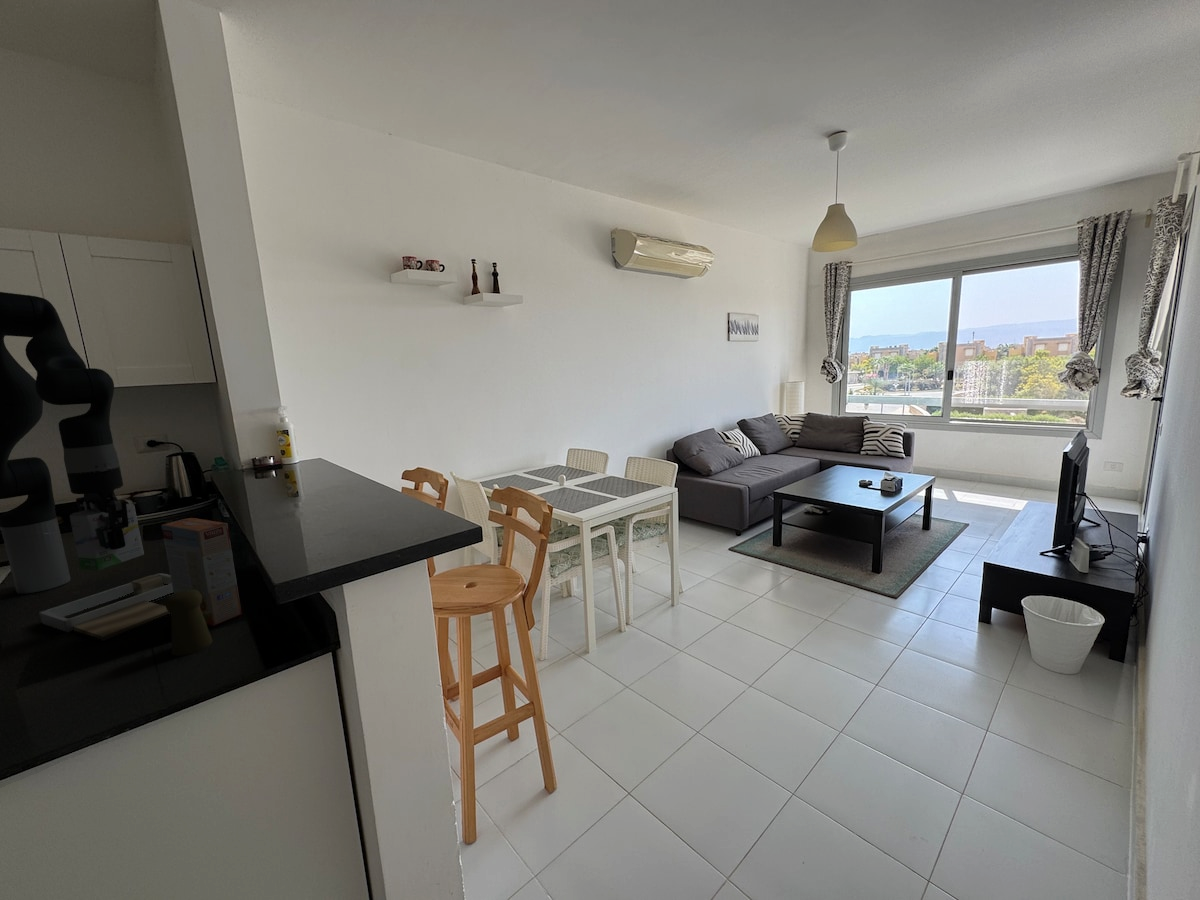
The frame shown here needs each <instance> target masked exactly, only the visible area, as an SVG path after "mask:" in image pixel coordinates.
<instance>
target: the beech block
mask: <svg viewBox="0 0 1200 900" xmlns="http://www.w3.org/2000/svg"><path fill="white" fill-rule="evenodd" d="M155 575H156V574H150V575H148V576H144V577H142V578H138V579H135V580H132V581H131V582H132V586H133V591H134V593H133V596H136V595H139V594H142V593H145V592H148V591H150V590H153V589H156V588H159V587H162V586H164V584H163V583H162V577H159V576H155Z"/></svg>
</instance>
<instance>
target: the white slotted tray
mask: <svg viewBox="0 0 1200 900" xmlns="http://www.w3.org/2000/svg"><path fill="white" fill-rule="evenodd" d="M154 575H155V576H159V577H162V583H164V584H168V585H164V584H163V586H162V587H159V588H156V589H153V590H150V591H148V592H145V593H142V594H139V595H136V596H134V595H133V596H131V597H130V596H129V597H128V598H124V599H122V600H119V601H116V602H114V603H110V604H107V605H105V606H102V607H99V608H96V609H93V610H90V611H87V612H85V613H81V614H78V615H75V616H73V617H70V618H67V616H70V615H73V614H76V613H79V612H82V611H84V609H85V610H88V609H91V608H94V607H96V606H99V604H100V605H102V604H105V603H108V602H111V601H115V600H116V599H120V598H123V597H126V596H128V595H127V594H129V595H131V594H130V593H132V592H134V591H133V586H132V581H131V582H128V583H125V584H123V585H119V586H115V587H113V588H110V589H106V590H104V591H101V592H97V593H94V594H92V595H88V596H85V597H82V598H79V599H75V600H73V601H70V602H67V603H63V604H60V605H57V606H55V607H51V608H48V609H46V610H42V611H39V612H38V615H39V619H40V623H41V624H42V623H43V625H44V626H47V627H48V626H49V627H51V626H52V627H51V628H54V629H56V628H57V630H59V629H60V631H62V630H63V632H65V631H66V632H65V633H70V631H71V632H73V631H72V630H73V626H75V625H78V624H81V623H83V622H86V621H89V620H92V619H94V618H97V617H100V616H103V615H106V614H108V613H111V612H114V611H117V610H120V609H122V608H125V607H128V606H131V605H134V604H136V603H139V602H142V601H148V602H149V601H151V600H154V599H157V598H159V597H162V596H165V595H167V594H170V593H173V587H172V581H171V576H170V574H167V573H162V572H160V573H156V574H154ZM132 594H133V593H132ZM125 595H126V596H125ZM122 596H123V597H122ZM119 597H120V598H119ZM87 608H88V609H87Z"/></svg>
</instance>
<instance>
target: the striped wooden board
mask: <svg viewBox="0 0 1200 900" xmlns="http://www.w3.org/2000/svg"><path fill="white" fill-rule="evenodd" d="M167 614H170V612H168V610H167V609H166V605H163V604H158V603H157V602H156V603H154V602H148V601H142V602H139V603H136V604H134V605H131V606H128V607H125V608H122V609H120V610H117V611H114V612H111V613H108V614H106V615H103V616H100V617H97V618H94V619H92V620H89V621H86V622H83V623H81V624H78V625H75V626H73V630H74V631H73V632H76V631H77V632H76V633H79V632H80V633H79V634H81V633H84V634H87V635H91V636H95V637H98V638H101V639H105V638H107V637H110V636H113V635H116V634H118V633H121V632H123V631H126V630H128V629H131V628H133V627H135V626H138V625H140V624H143V623H146V622H148V621H151V620H153V619H156V618H159V617H161V616H164V615H167ZM84 634H83V635H84ZM87 635H86V636H87Z"/></svg>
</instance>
